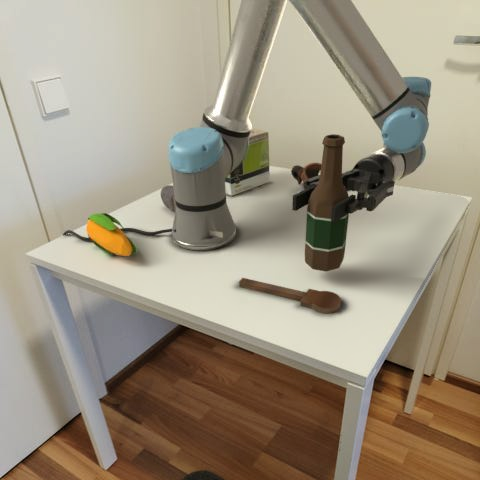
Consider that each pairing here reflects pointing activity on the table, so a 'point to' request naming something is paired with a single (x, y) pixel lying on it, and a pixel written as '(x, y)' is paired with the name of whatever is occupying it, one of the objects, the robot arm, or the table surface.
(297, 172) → the brown rounded hollow piece
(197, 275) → the table surface
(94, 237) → the corn
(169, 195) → the perforated stone tool
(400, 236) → the table surface
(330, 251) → the beer bottle
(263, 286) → the wooden spoon
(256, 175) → the tea box
